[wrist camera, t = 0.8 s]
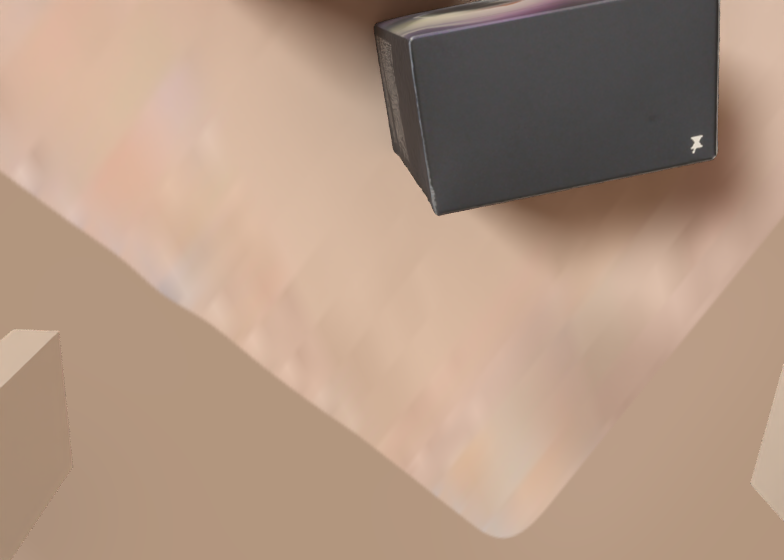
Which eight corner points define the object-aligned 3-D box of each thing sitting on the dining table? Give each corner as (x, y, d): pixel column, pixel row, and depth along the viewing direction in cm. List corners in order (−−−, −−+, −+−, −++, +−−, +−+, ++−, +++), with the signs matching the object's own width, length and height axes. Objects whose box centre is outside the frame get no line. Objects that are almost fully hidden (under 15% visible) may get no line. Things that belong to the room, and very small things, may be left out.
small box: (595, -28, 31) (732, -33, 22) (601, 114, 34) (725, 165, 24) (368, 15, 31) (406, 29, 21) (392, 157, 33) (435, 226, 24)
